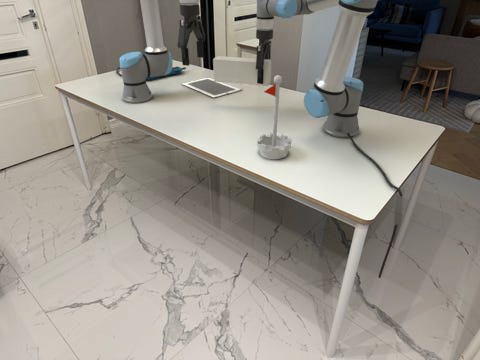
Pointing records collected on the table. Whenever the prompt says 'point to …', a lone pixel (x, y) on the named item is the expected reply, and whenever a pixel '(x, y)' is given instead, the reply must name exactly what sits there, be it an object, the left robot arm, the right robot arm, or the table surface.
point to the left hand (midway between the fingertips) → (193, 61)
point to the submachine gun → (173, 71)
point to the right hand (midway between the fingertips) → (262, 81)
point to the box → (240, 70)
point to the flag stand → (274, 131)
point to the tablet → (211, 87)
